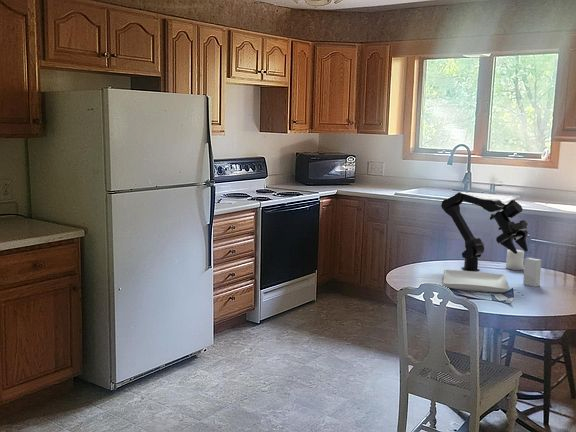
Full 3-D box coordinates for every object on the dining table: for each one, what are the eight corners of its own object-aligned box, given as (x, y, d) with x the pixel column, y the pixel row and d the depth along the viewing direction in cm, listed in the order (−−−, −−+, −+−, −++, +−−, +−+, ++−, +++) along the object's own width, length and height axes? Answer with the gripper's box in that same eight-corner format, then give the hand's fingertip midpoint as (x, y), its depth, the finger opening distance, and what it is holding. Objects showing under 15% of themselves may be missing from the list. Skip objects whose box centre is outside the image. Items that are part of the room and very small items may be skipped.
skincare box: (540, 285, 267) (542, 259, 265) (535, 287, 264) (537, 260, 262) (527, 282, 271) (529, 256, 270) (522, 284, 269) (524, 258, 267)
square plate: (504, 281, 274) (504, 273, 274) (509, 297, 248) (510, 288, 248) (443, 276, 281) (444, 268, 281) (442, 290, 255) (443, 281, 255)
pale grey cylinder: (502, 266, 303) (503, 249, 302) (515, 266, 306) (516, 248, 305) (513, 270, 296) (514, 252, 295) (526, 269, 299) (527, 252, 297)
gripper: (506, 215, 267) (524, 245, 261) (528, 212, 279) (546, 241, 273) (488, 228, 275) (505, 257, 269) (510, 224, 286) (526, 253, 281)
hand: (521, 252), depth 273 cm, fingers open, 9 cm apart
